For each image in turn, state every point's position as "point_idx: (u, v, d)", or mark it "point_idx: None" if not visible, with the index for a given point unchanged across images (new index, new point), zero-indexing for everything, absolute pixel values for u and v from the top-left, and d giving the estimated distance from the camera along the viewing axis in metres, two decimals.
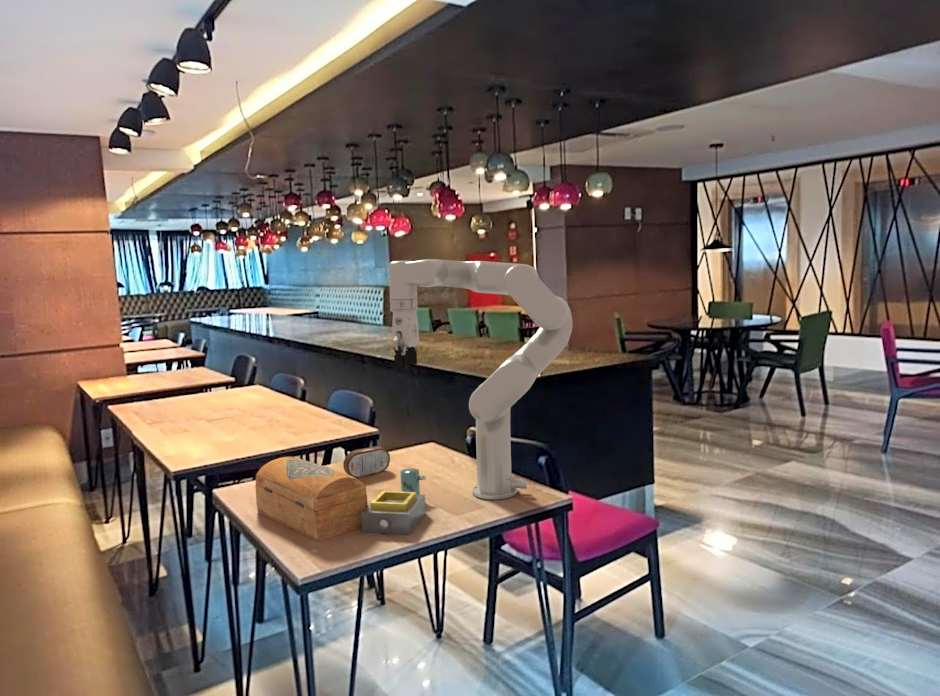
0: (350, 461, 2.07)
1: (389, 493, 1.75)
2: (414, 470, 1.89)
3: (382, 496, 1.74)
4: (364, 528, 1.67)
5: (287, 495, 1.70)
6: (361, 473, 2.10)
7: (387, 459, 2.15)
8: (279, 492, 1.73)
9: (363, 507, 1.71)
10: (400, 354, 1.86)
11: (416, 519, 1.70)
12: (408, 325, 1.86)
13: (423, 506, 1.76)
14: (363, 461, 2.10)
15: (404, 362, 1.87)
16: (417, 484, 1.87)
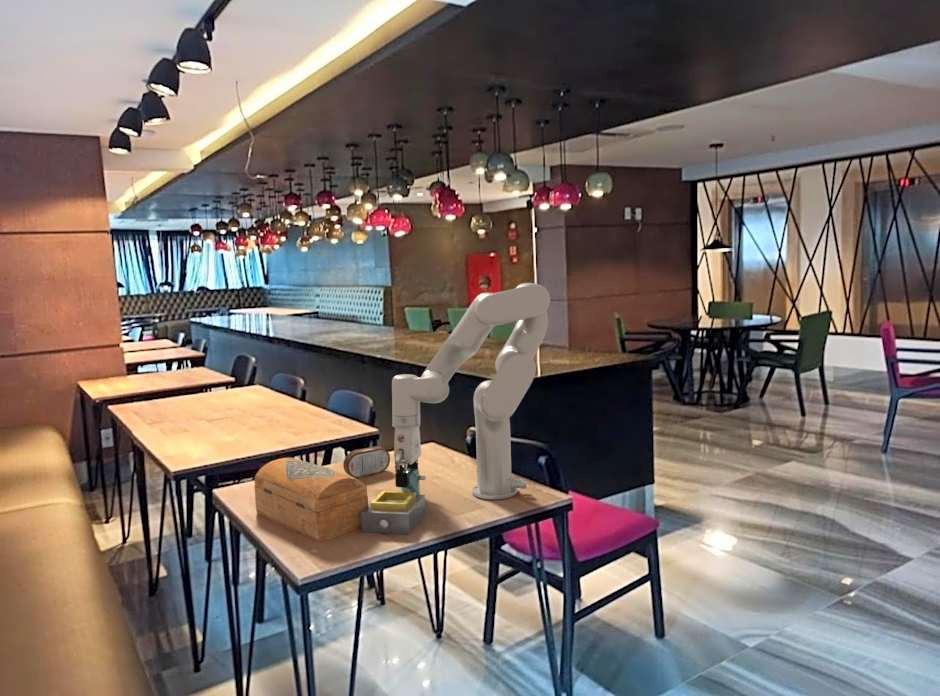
0: (350, 461, 2.07)
1: (389, 493, 1.75)
2: (414, 470, 1.89)
3: (382, 496, 1.74)
4: (364, 528, 1.67)
5: (287, 496, 1.69)
6: (361, 473, 2.10)
7: (387, 459, 2.15)
8: (279, 493, 1.72)
9: (364, 508, 1.70)
10: (401, 472, 1.82)
11: (416, 519, 1.70)
12: (410, 443, 1.82)
13: (423, 506, 1.76)
14: (363, 461, 2.10)
15: (405, 480, 1.83)
16: (417, 484, 1.87)
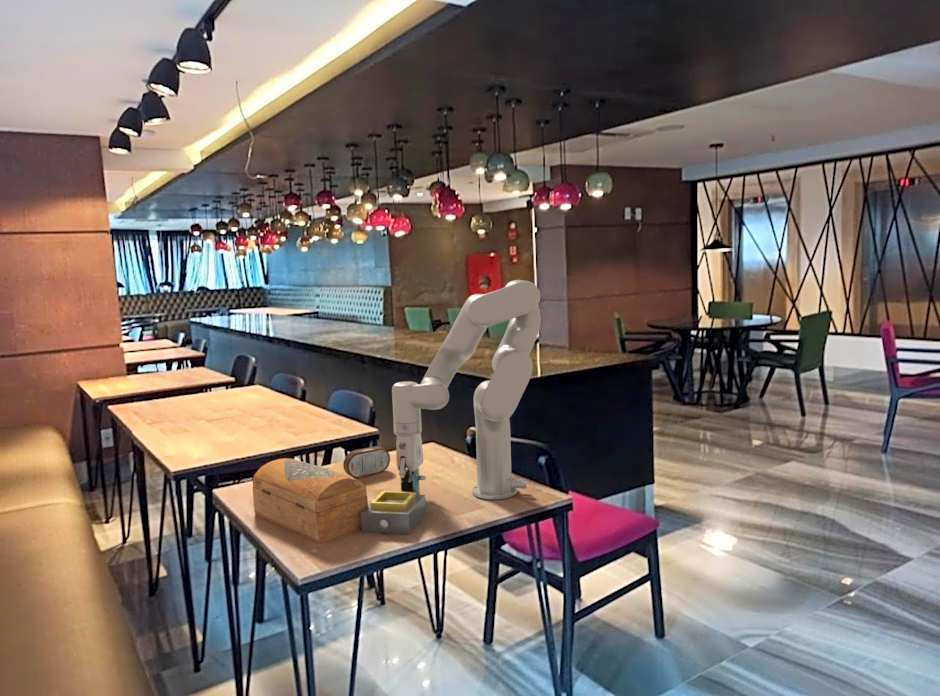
0: (350, 461, 2.07)
1: (389, 493, 1.75)
2: None
3: (382, 496, 1.74)
4: (364, 528, 1.67)
5: (286, 497, 1.69)
6: (361, 473, 2.10)
7: (387, 459, 2.15)
8: (278, 494, 1.72)
9: (363, 508, 1.70)
10: (407, 482, 1.84)
11: (416, 519, 1.70)
12: (412, 450, 1.83)
13: (423, 506, 1.76)
14: (363, 461, 2.10)
15: (411, 489, 1.85)
16: (417, 484, 1.87)
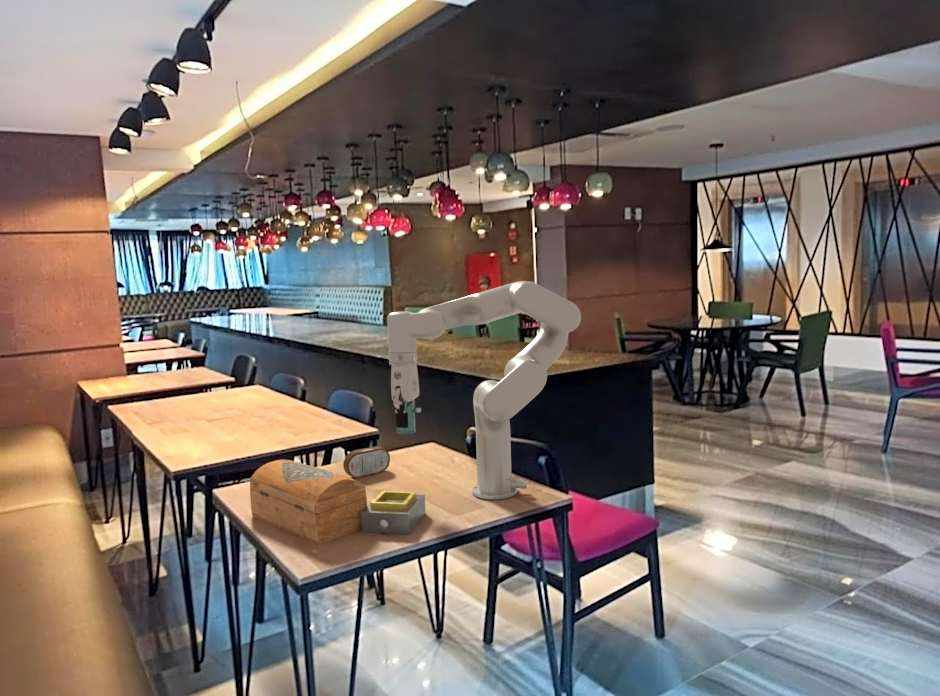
0: (350, 461, 2.07)
1: (389, 493, 1.75)
2: (409, 402, 1.85)
3: (382, 496, 1.74)
4: (364, 528, 1.67)
5: (285, 498, 1.68)
6: (361, 473, 2.10)
7: (387, 459, 2.15)
8: (277, 495, 1.70)
9: (363, 509, 1.69)
10: (402, 413, 1.81)
11: (416, 519, 1.70)
12: (407, 379, 1.79)
13: (423, 506, 1.76)
14: (363, 461, 2.10)
15: (406, 420, 1.82)
16: (412, 416, 1.84)
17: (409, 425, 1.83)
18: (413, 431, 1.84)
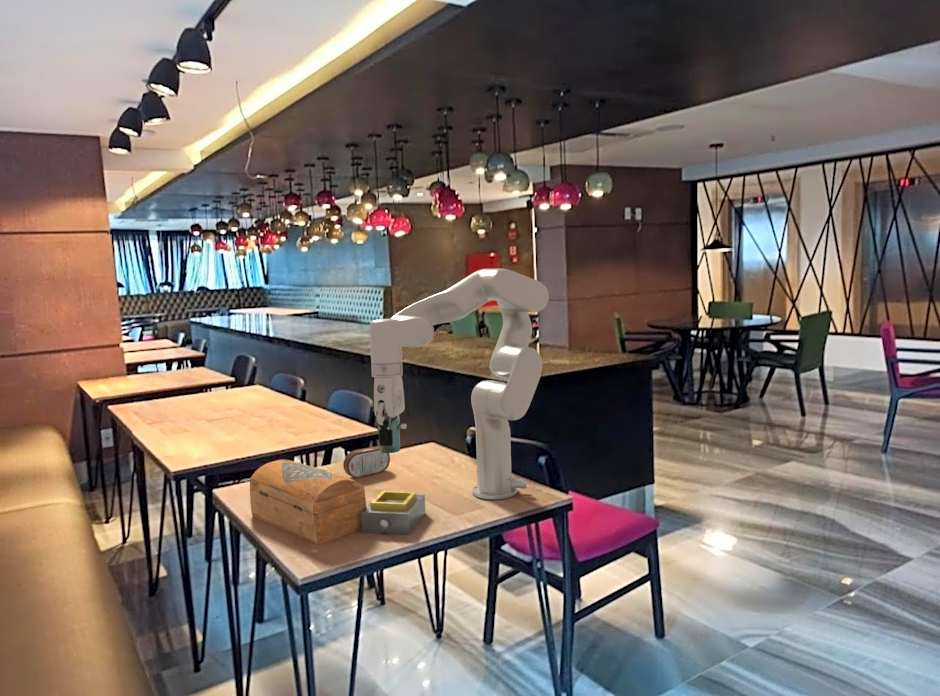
0: (350, 461, 2.07)
1: (389, 493, 1.75)
2: (394, 418, 1.70)
3: (382, 496, 1.74)
4: (364, 528, 1.67)
5: (284, 499, 1.68)
6: (361, 473, 2.10)
7: (387, 459, 2.15)
8: (276, 496, 1.70)
9: (362, 510, 1.69)
10: (386, 429, 1.65)
11: (416, 519, 1.70)
12: (391, 393, 1.64)
13: (423, 506, 1.76)
14: (363, 461, 2.10)
15: (390, 437, 1.66)
16: (397, 433, 1.68)
17: (393, 443, 1.68)
18: (398, 449, 1.69)
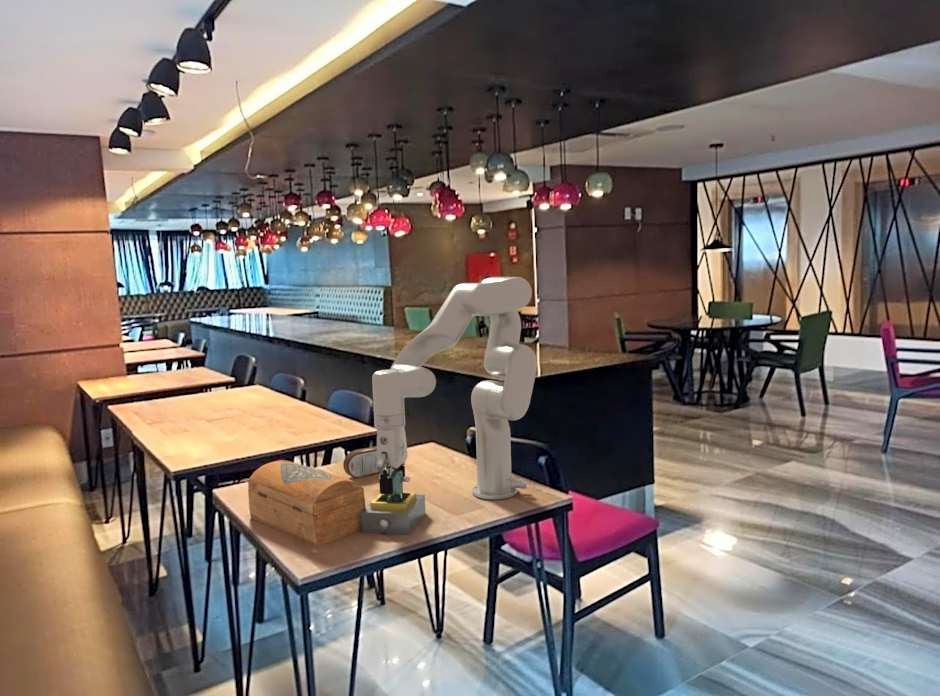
0: (350, 461, 2.07)
1: None
2: (397, 471, 1.71)
3: (382, 496, 1.74)
4: (364, 528, 1.67)
5: (283, 499, 1.67)
6: (361, 473, 2.10)
7: None
8: (275, 497, 1.70)
9: (361, 510, 1.68)
10: (386, 478, 1.65)
11: (416, 519, 1.70)
12: (394, 445, 1.65)
13: (423, 506, 1.76)
14: (363, 461, 2.10)
15: (390, 486, 1.66)
16: (400, 486, 1.70)
17: (397, 496, 1.69)
18: (401, 502, 1.70)
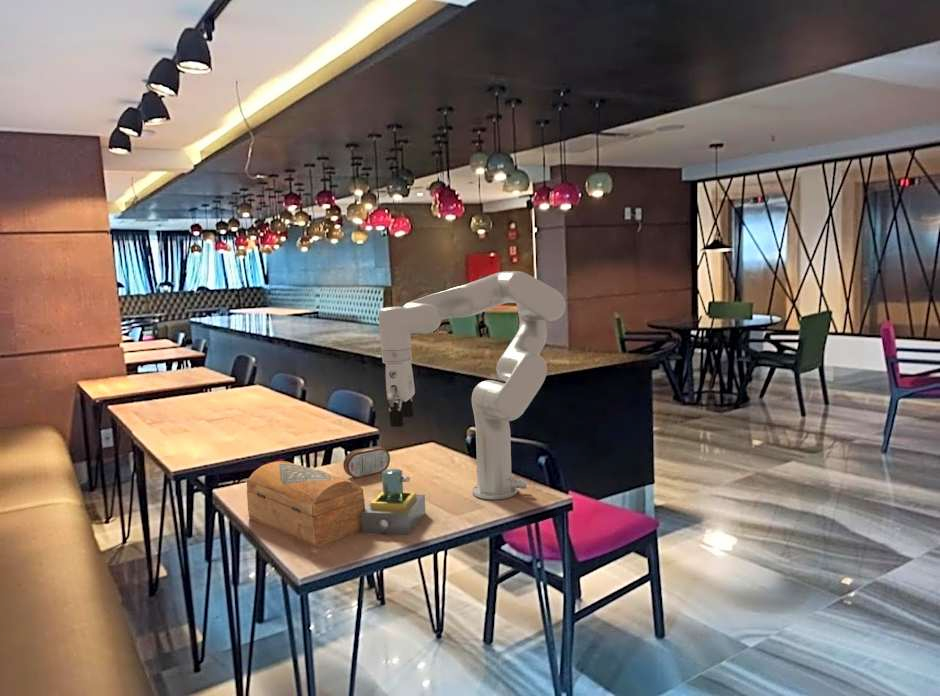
0: (350, 461, 2.07)
1: None
2: (397, 471, 1.71)
3: (382, 496, 1.74)
4: (364, 528, 1.67)
5: (282, 500, 1.66)
6: (361, 473, 2.10)
7: (387, 459, 2.15)
8: (274, 498, 1.69)
9: (360, 511, 1.68)
10: (396, 410, 1.70)
11: (416, 519, 1.70)
12: (403, 378, 1.70)
13: (423, 506, 1.76)
14: (363, 461, 2.10)
15: (401, 418, 1.71)
16: (400, 486, 1.70)
17: (397, 496, 1.69)
18: (401, 502, 1.70)
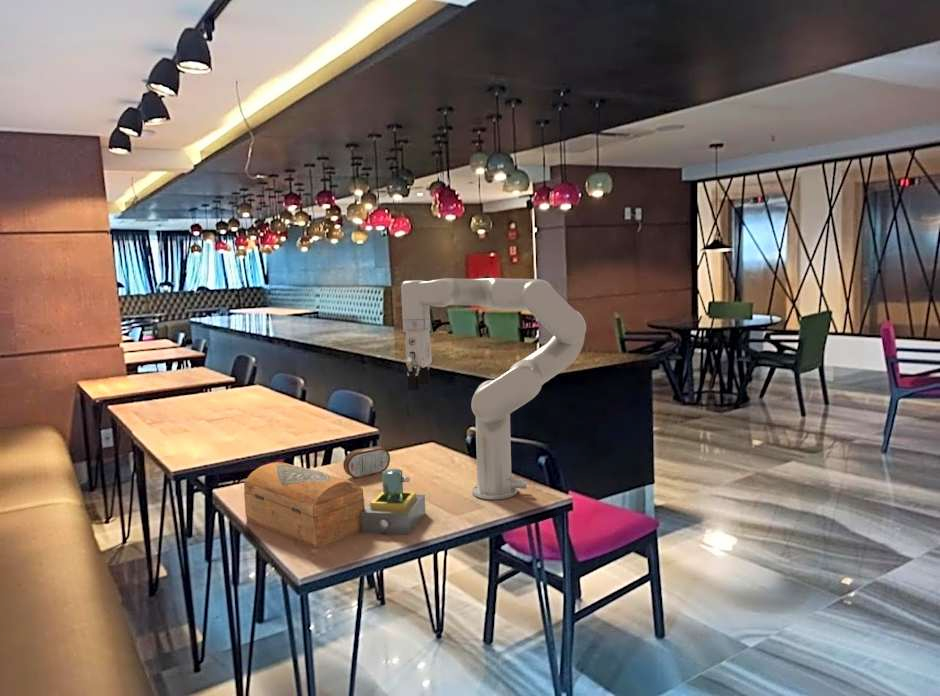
0: (350, 461, 2.07)
1: None
2: (397, 471, 1.71)
3: (382, 496, 1.74)
4: (364, 528, 1.67)
5: (281, 501, 1.66)
6: (361, 473, 2.10)
7: (387, 459, 2.15)
8: (272, 499, 1.68)
9: (360, 511, 1.68)
10: (414, 375, 1.84)
11: (416, 519, 1.70)
12: (421, 345, 1.85)
13: (423, 506, 1.76)
14: (363, 461, 2.10)
15: (418, 383, 1.85)
16: (400, 486, 1.70)
17: (397, 496, 1.69)
18: (401, 502, 1.70)
